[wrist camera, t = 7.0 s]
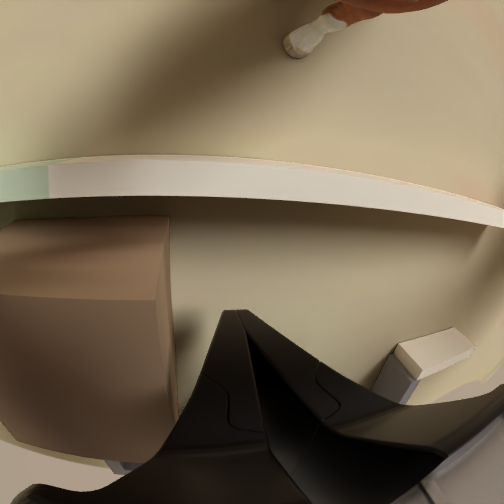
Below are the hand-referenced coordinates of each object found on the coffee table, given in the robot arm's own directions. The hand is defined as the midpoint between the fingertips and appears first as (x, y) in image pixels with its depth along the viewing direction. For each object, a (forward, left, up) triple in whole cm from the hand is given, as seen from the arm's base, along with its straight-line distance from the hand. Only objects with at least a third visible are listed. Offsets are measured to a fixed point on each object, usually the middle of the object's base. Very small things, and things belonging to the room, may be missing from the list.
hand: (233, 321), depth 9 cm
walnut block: (+5, 0, -2) cm, 5 cm away
